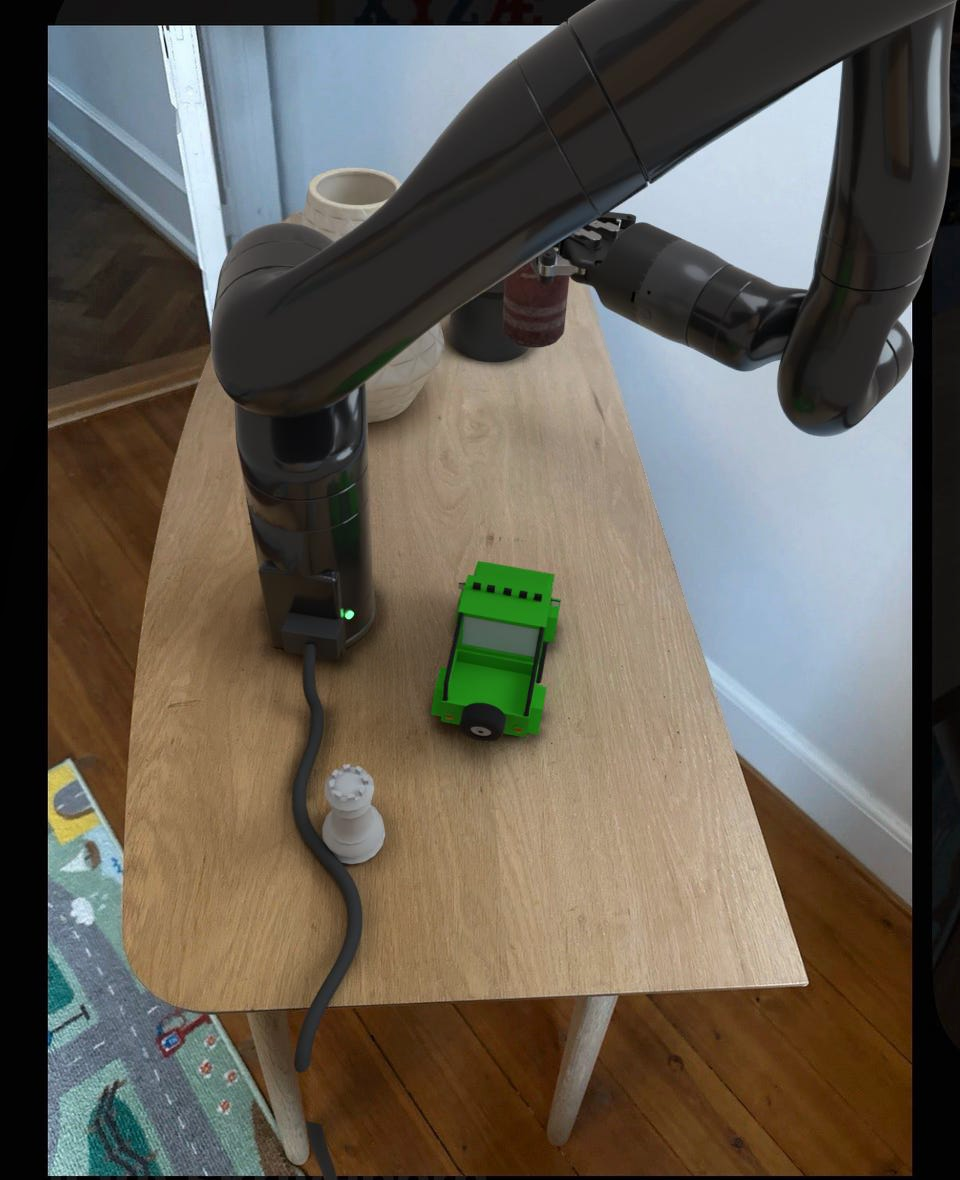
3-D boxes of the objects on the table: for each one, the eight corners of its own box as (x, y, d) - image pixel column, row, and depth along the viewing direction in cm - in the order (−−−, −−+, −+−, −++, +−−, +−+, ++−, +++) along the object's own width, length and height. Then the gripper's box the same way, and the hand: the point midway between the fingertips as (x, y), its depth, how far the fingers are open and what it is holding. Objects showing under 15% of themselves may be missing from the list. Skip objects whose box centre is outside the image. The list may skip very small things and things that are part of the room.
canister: (525, 367, 104) (533, 297, 98) (442, 355, 105) (444, 285, 98) (534, 323, 111) (542, 255, 104) (456, 312, 111) (459, 244, 105)
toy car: (558, 611, 79) (574, 531, 71) (530, 777, 67) (546, 702, 60) (465, 594, 79) (472, 513, 72) (422, 756, 68) (425, 679, 60)
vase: (413, 457, 92) (414, 246, 75) (258, 421, 94) (226, 208, 77) (460, 368, 103) (471, 167, 86) (322, 338, 106) (306, 136, 88)
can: (561, 353, 85) (575, 206, 75) (497, 344, 86) (502, 198, 76) (570, 322, 89) (584, 179, 79) (508, 315, 90) (515, 172, 80)
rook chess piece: (386, 809, 65) (384, 751, 59) (384, 867, 62) (381, 812, 56) (325, 809, 64) (317, 751, 58) (319, 867, 61) (310, 812, 55)
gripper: (723, 219, 74) (567, 153, 82) (627, 268, 67) (466, 190, 75) (701, 301, 79) (557, 231, 87) (610, 353, 73) (462, 273, 80)
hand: (515, 212), depth 81 cm, fingers closed
